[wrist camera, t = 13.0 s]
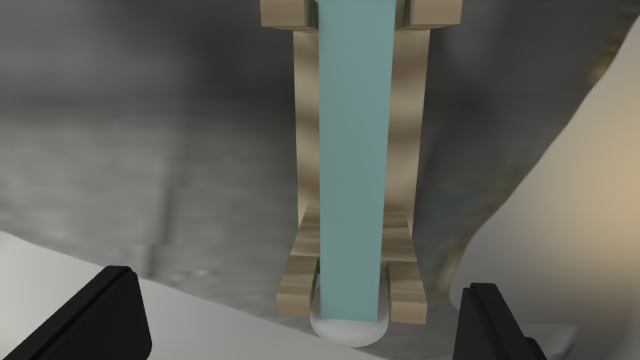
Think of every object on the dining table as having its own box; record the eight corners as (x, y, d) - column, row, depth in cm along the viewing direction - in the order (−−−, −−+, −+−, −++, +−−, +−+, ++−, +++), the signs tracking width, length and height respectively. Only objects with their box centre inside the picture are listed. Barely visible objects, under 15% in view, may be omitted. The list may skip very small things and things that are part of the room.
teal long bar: (311, -42, 23) (295, -69, 18) (409, -45, 23) (423, -73, 17) (315, 291, 32) (305, 343, 26) (386, 295, 31) (390, 350, 26)
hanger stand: (294, -16, 33) (236, -66, 18) (431, -19, 32) (493, -75, 17) (301, 231, 42) (265, 340, 27) (409, 237, 41) (436, 354, 26)
